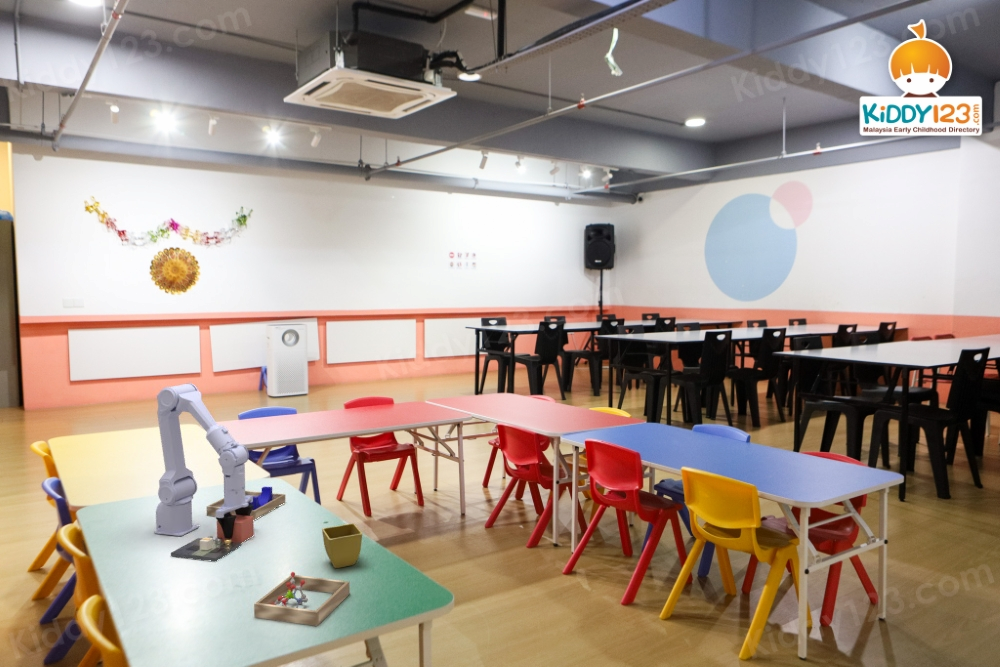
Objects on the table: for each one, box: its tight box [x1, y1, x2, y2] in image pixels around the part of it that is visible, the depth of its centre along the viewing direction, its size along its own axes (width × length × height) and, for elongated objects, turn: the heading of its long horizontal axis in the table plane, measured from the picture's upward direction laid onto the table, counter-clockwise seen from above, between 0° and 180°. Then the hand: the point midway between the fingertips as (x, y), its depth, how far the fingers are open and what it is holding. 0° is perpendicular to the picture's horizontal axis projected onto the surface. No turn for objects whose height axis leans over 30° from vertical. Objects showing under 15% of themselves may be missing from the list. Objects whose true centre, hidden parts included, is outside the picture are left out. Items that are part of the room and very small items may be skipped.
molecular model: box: [270, 571, 309, 608], centre depth 150 cm, size 7×8×8 cm
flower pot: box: [321, 523, 363, 569], centre depth 174 cm, size 9×9×9 cm
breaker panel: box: [170, 536, 242, 562], centre depth 182 cm, size 14×11×2 cm
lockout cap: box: [216, 514, 255, 544], centre depth 191 cm, size 8×6×6 cm
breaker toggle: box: [200, 536, 214, 550], centre depth 180 cm, size 2×2×3 cm
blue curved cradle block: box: [249, 486, 273, 510], centre depth 216 cm, size 12×4×6 cm, turn 175°
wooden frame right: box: [253, 574, 351, 627], centre depth 151 cm, size 15×15×3 cm
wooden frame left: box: [206, 490, 286, 521], centre depth 216 cm, size 17×17×3 cm
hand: (235, 533), depth 191 cm, fingers closed on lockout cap, 6 cm apart
